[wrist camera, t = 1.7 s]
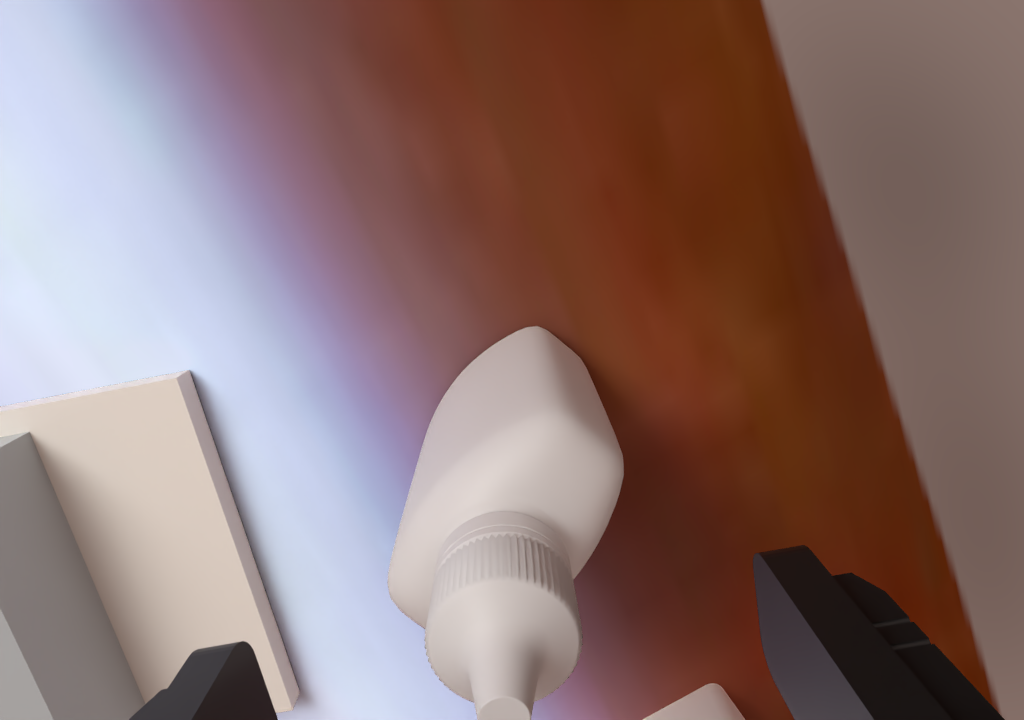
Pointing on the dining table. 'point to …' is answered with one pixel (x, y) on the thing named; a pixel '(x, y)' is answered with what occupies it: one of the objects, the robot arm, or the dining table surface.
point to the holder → (701, 706)
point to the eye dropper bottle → (507, 522)
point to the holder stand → (120, 553)
